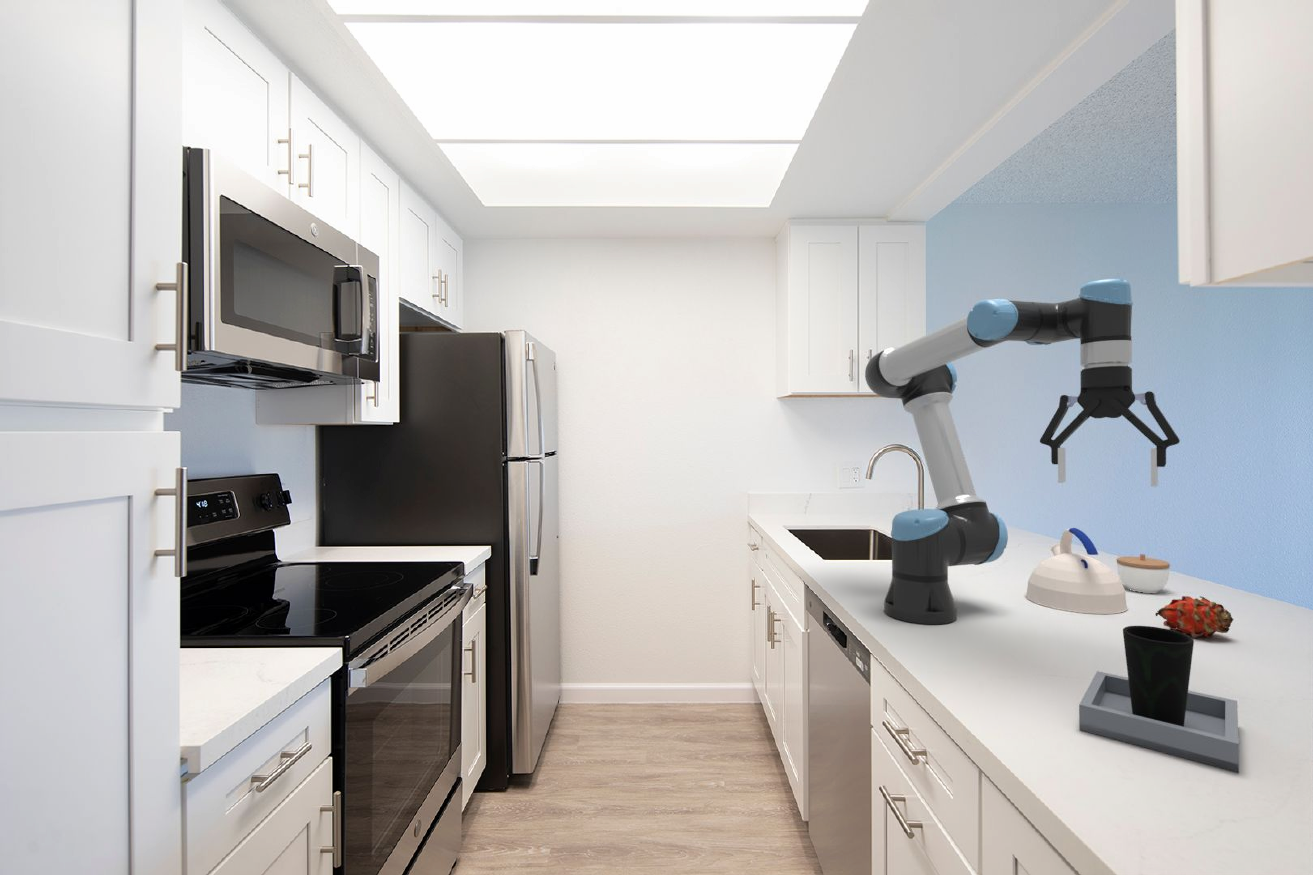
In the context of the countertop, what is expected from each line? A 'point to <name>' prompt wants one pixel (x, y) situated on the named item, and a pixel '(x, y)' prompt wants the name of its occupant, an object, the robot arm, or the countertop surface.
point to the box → (1164, 723)
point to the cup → (1158, 672)
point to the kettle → (1076, 580)
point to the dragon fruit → (1196, 617)
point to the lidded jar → (1143, 573)
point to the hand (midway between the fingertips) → (1106, 484)
